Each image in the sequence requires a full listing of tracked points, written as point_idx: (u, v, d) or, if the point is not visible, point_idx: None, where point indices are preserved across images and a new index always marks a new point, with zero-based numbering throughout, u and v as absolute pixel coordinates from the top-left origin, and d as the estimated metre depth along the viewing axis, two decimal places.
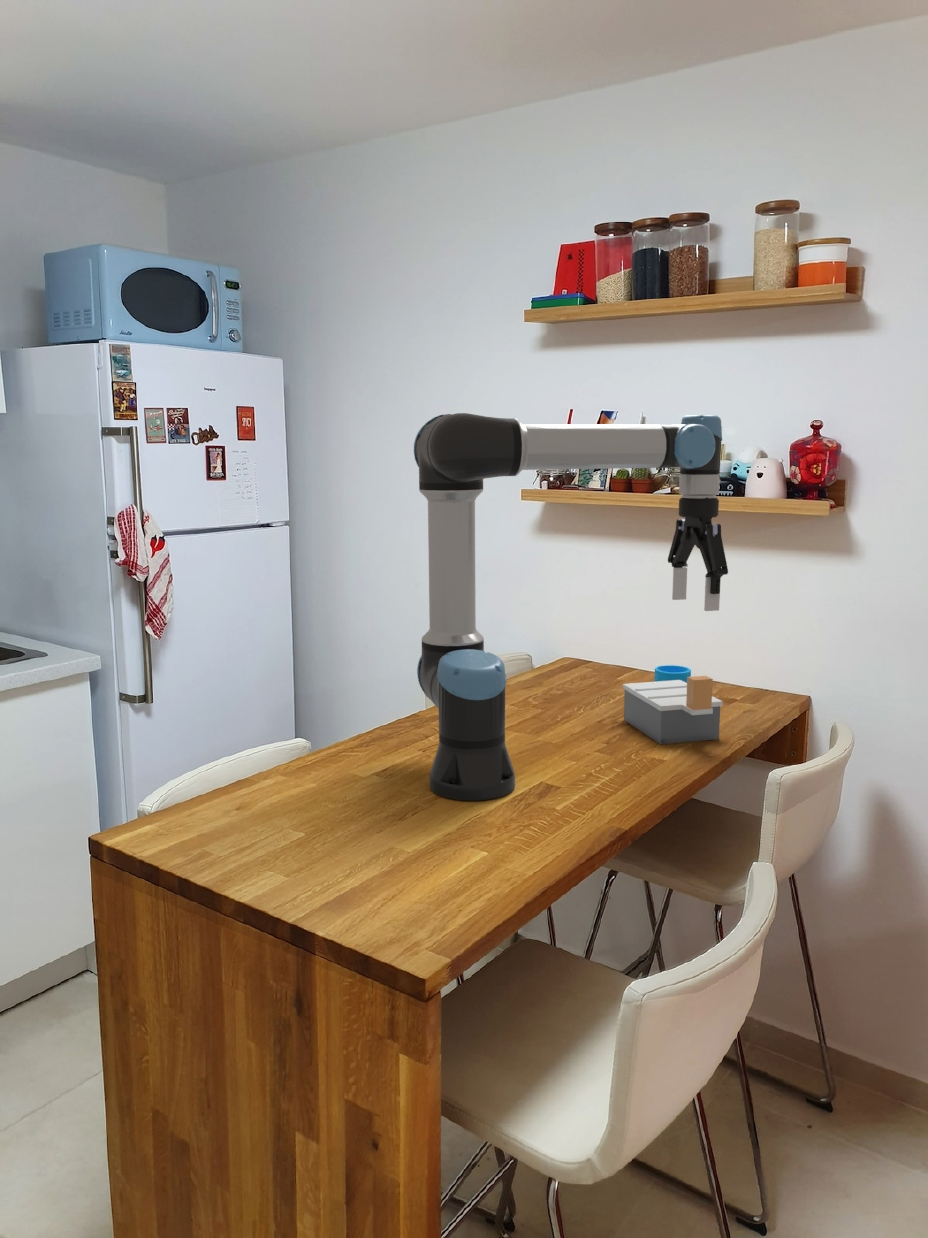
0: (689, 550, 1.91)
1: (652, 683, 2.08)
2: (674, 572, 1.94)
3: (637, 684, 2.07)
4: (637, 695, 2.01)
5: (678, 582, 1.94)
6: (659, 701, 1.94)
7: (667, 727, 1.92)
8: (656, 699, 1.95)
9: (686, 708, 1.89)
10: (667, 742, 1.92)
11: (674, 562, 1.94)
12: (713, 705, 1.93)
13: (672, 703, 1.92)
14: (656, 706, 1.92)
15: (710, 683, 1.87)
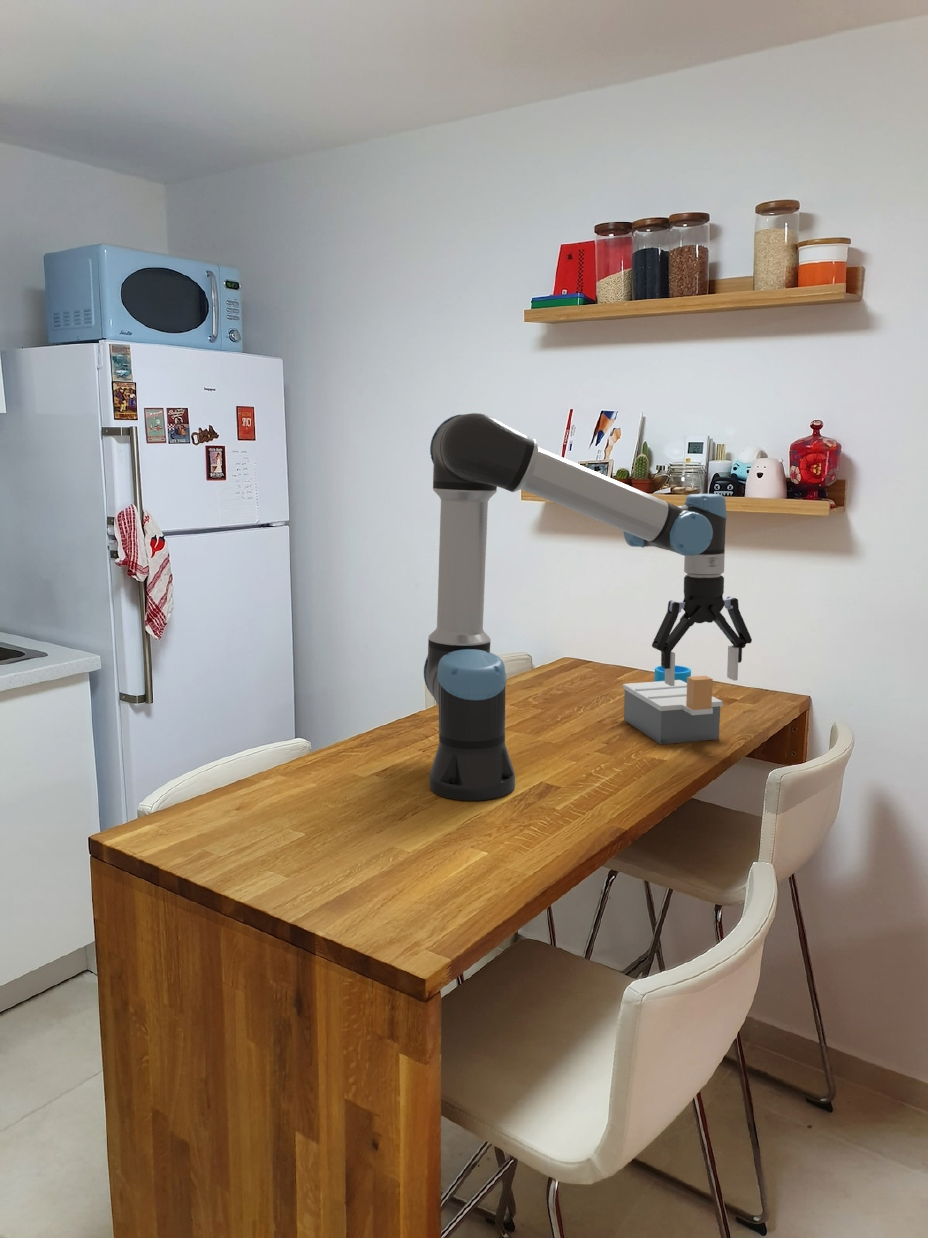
0: (724, 630, 1.87)
1: (652, 683, 2.08)
2: None
3: (637, 684, 2.07)
4: (637, 695, 2.01)
5: (729, 661, 1.90)
6: (659, 701, 1.94)
7: (667, 727, 1.92)
8: (656, 699, 1.95)
9: (686, 708, 1.89)
10: (667, 742, 1.92)
11: None
12: (713, 705, 1.93)
13: (672, 703, 1.92)
14: (656, 706, 1.92)
15: (710, 683, 1.87)
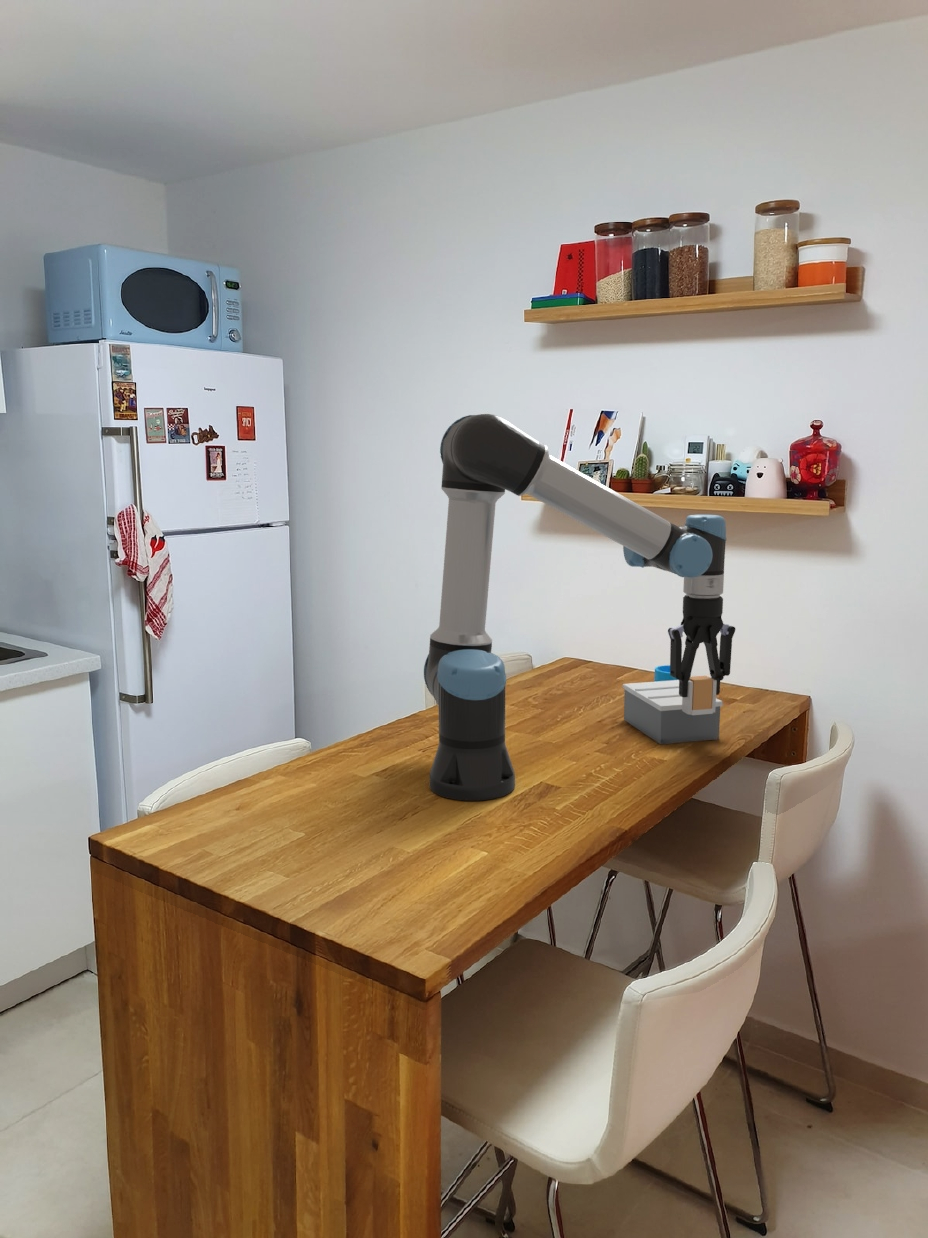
0: (711, 655, 1.87)
1: (652, 683, 2.08)
2: None
3: (637, 684, 2.07)
4: (637, 695, 2.01)
5: None
6: (659, 701, 1.94)
7: (667, 727, 1.92)
8: (656, 699, 1.95)
9: None
10: (667, 742, 1.92)
11: None
12: None
13: (672, 703, 1.92)
14: (656, 706, 1.92)
15: (710, 683, 1.87)
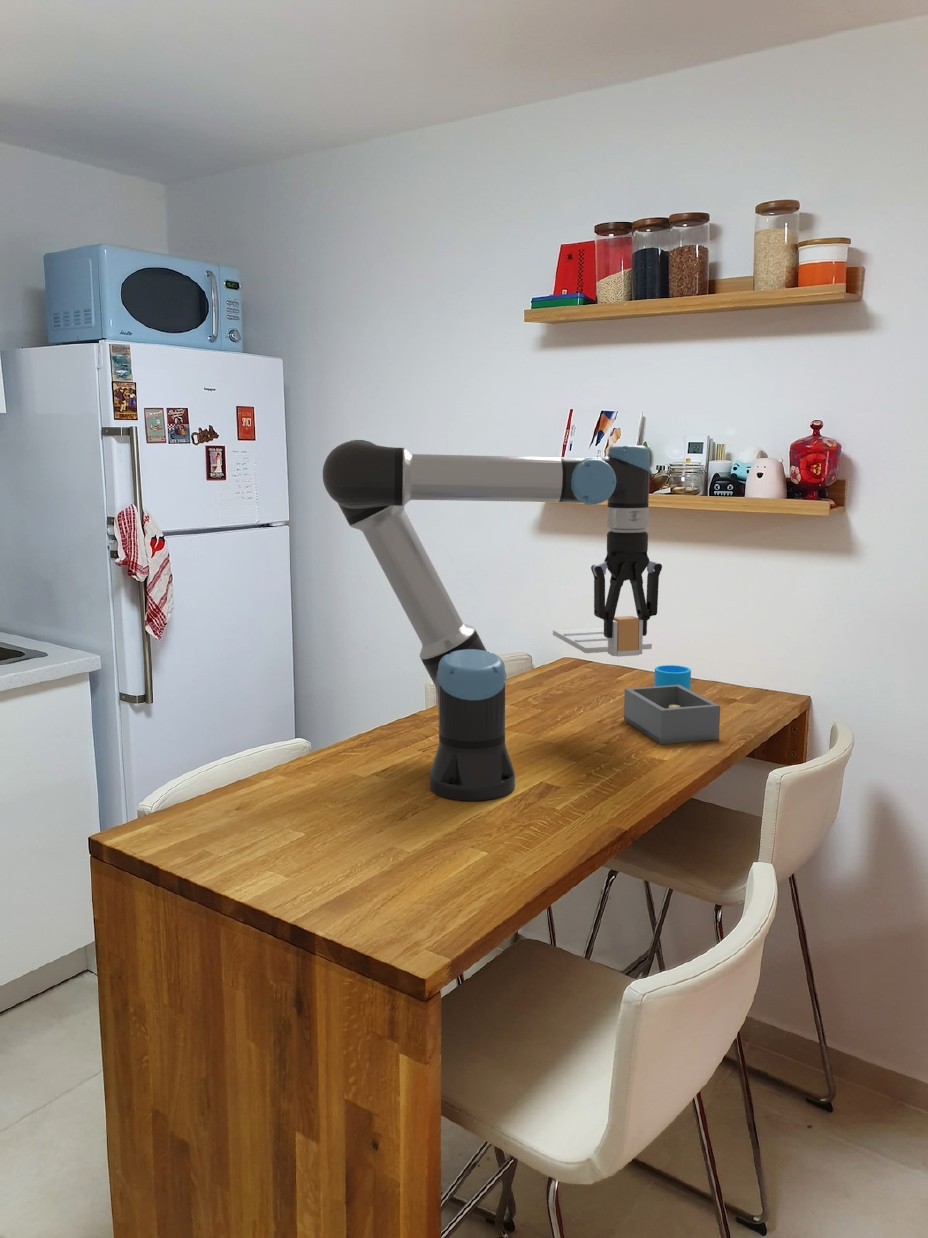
0: (637, 594, 1.79)
1: (583, 629, 2.00)
2: None
3: (567, 630, 1.99)
4: (565, 640, 1.92)
5: None
6: (585, 644, 1.85)
7: (667, 727, 1.92)
8: (583, 642, 1.87)
9: None
10: (667, 742, 1.92)
11: None
12: (642, 648, 1.85)
13: (598, 645, 1.84)
14: (582, 648, 1.84)
15: (636, 622, 1.79)
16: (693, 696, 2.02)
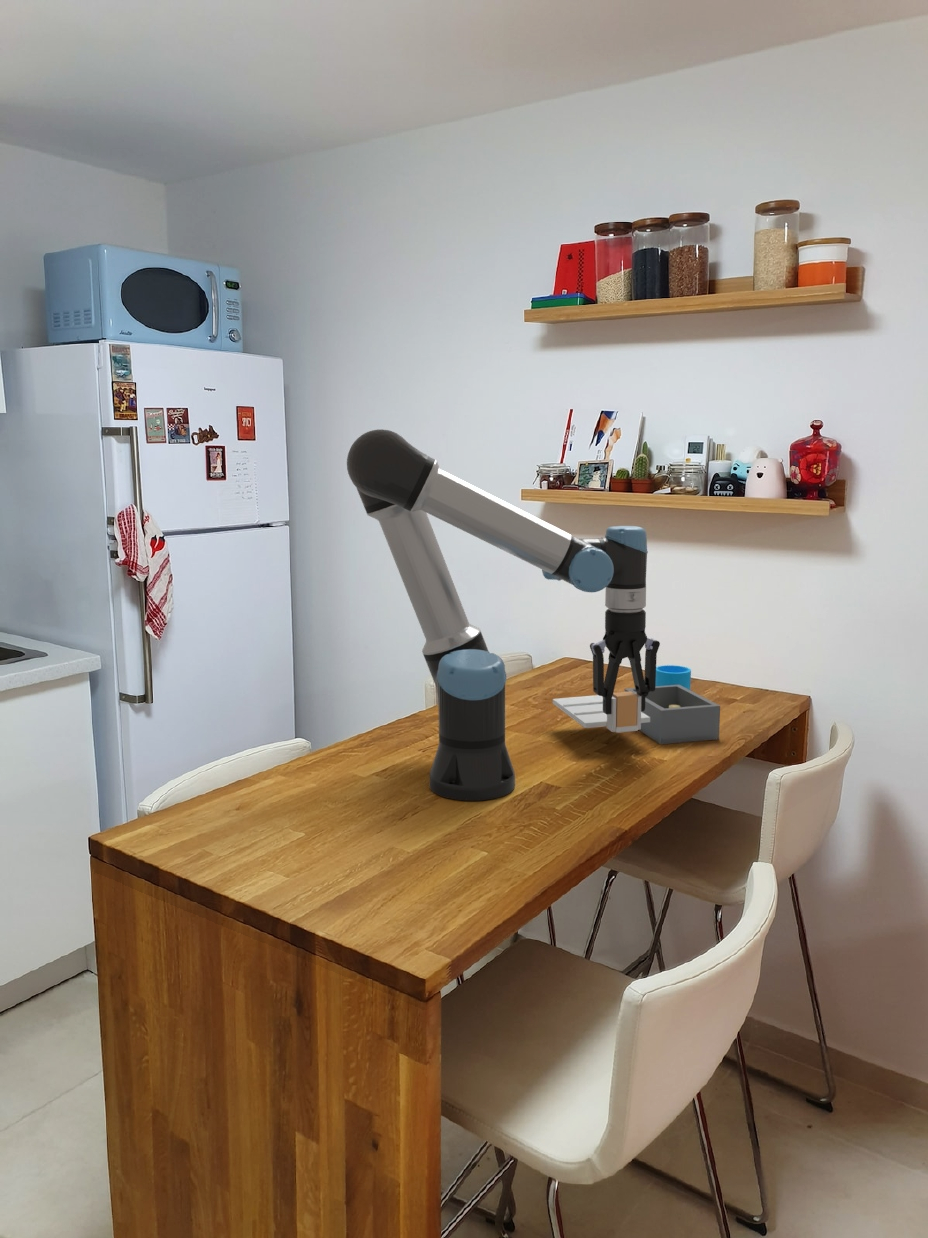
0: (635, 671, 1.81)
1: (583, 698, 2.02)
2: None
3: (567, 699, 2.02)
4: (565, 711, 1.95)
5: None
6: (585, 717, 1.88)
7: (667, 727, 1.92)
8: (582, 715, 1.89)
9: None
10: (667, 742, 1.92)
11: None
12: None
13: (598, 719, 1.87)
14: (581, 723, 1.86)
15: (634, 699, 1.82)
16: (693, 696, 2.02)
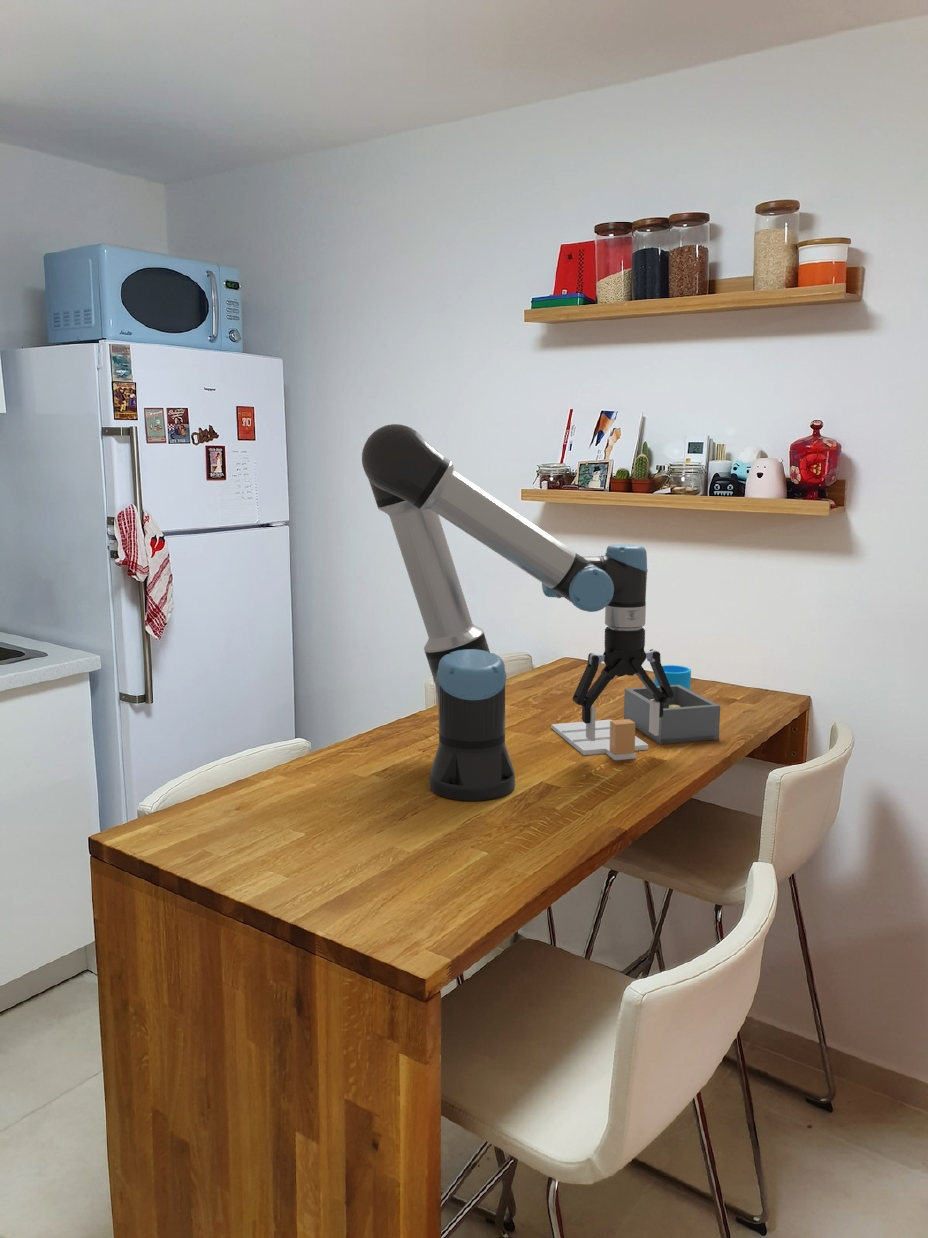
0: (645, 683, 1.82)
1: (581, 723, 2.03)
2: None
3: (566, 724, 2.03)
4: (563, 737, 1.96)
5: (651, 715, 1.85)
6: (583, 744, 1.89)
7: (667, 727, 1.92)
8: (581, 742, 1.90)
9: (609, 752, 1.85)
10: (667, 742, 1.92)
11: None
12: (638, 749, 1.88)
13: (596, 746, 1.88)
14: (580, 750, 1.87)
15: (633, 727, 1.83)
16: (693, 696, 2.02)
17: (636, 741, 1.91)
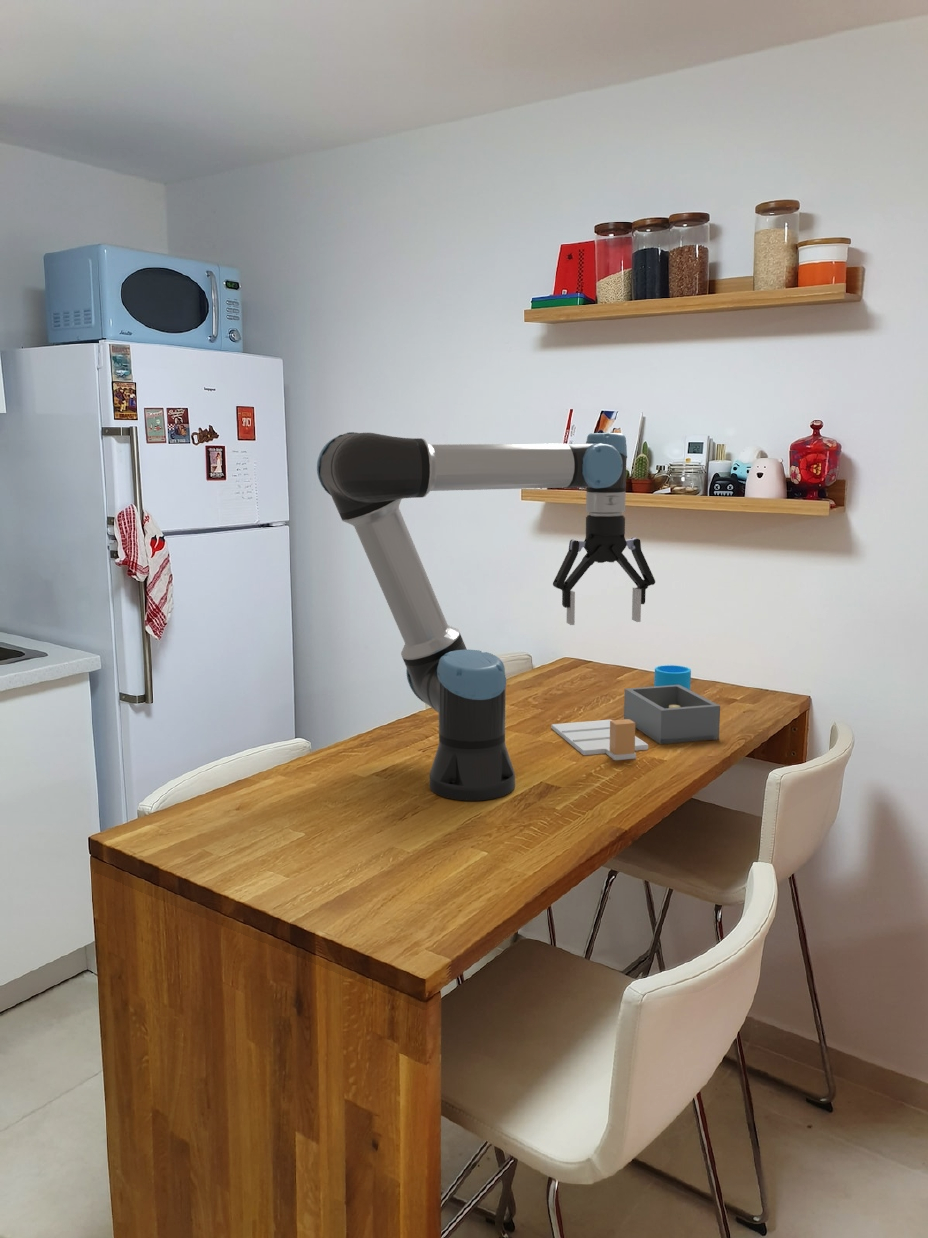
0: (627, 570, 1.87)
1: (581, 723, 2.03)
2: None
3: (566, 725, 2.03)
4: (563, 737, 1.96)
5: (633, 602, 1.90)
6: (583, 744, 1.89)
7: (667, 727, 1.92)
8: (581, 742, 1.90)
9: (609, 752, 1.85)
10: (667, 742, 1.92)
11: None
12: (638, 749, 1.88)
13: (596, 746, 1.88)
14: (580, 750, 1.87)
15: (633, 727, 1.83)
16: (693, 696, 2.02)
17: (636, 741, 1.91)
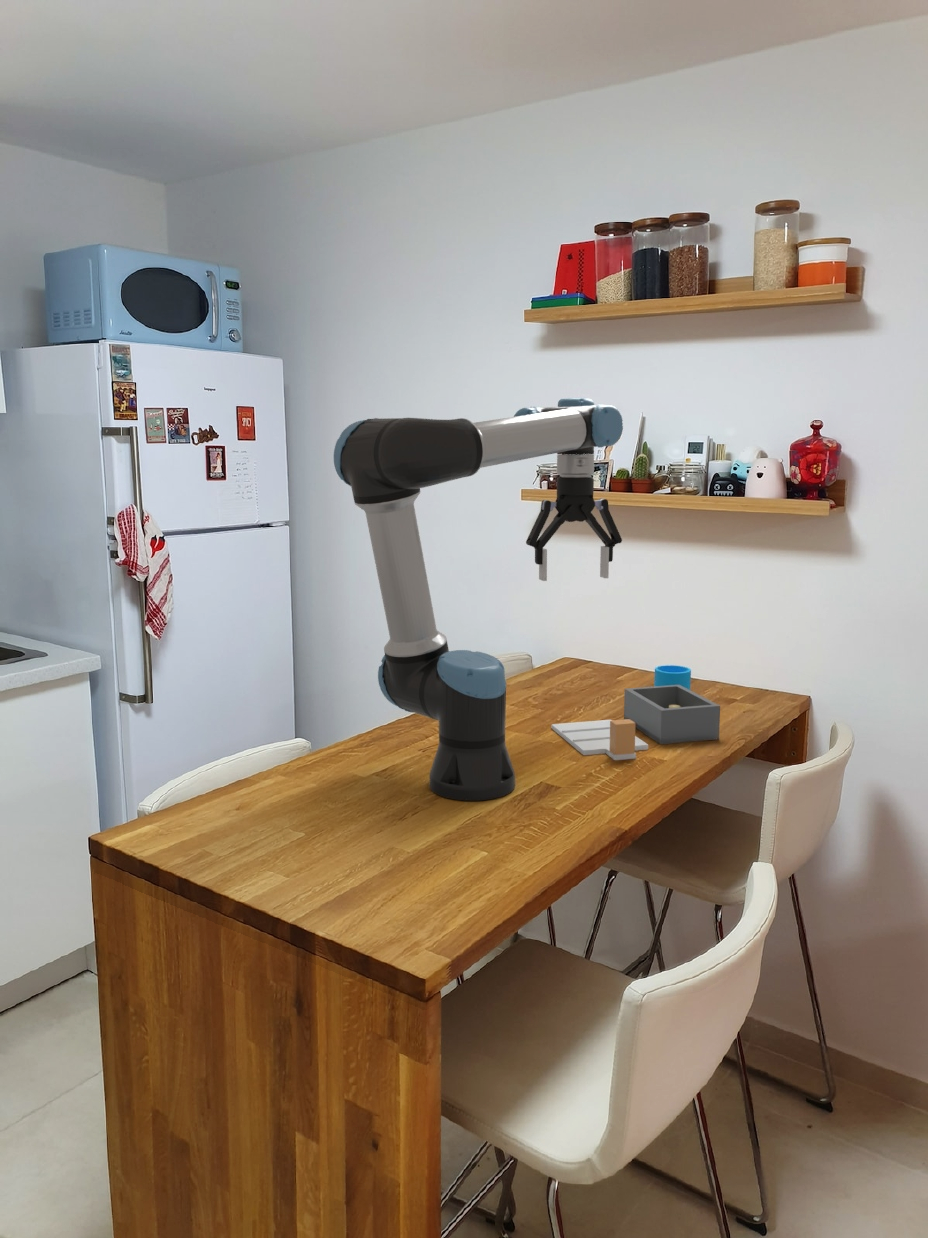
0: (595, 529, 1.98)
1: (581, 723, 2.03)
2: None
3: (566, 724, 2.03)
4: (563, 737, 1.96)
5: (602, 560, 2.01)
6: (583, 744, 1.89)
7: (667, 727, 1.92)
8: (581, 742, 1.90)
9: (609, 752, 1.85)
10: (667, 742, 1.92)
11: None
12: (638, 749, 1.88)
13: (596, 746, 1.88)
14: (580, 750, 1.87)
15: (633, 727, 1.82)
16: (693, 696, 2.02)
17: (636, 741, 1.91)
